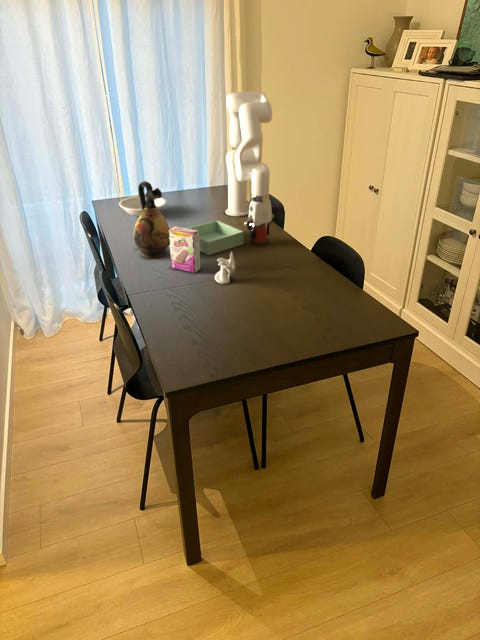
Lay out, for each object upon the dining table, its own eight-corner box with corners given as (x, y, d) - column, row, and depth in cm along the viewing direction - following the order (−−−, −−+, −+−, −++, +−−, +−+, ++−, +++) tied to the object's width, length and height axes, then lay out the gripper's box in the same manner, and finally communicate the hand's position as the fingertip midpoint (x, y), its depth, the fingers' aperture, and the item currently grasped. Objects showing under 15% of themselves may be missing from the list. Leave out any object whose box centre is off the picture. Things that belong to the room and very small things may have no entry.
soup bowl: (177, 212, 255) (176, 200, 252) (146, 226, 238) (144, 212, 234) (142, 204, 266) (141, 192, 263) (110, 217, 249) (108, 204, 246)
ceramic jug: (179, 253, 209) (175, 183, 194) (150, 264, 199) (143, 191, 184) (154, 243, 219) (148, 175, 204) (125, 253, 209) (117, 182, 194)
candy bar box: (170, 268, 196) (167, 229, 187) (177, 264, 200) (174, 225, 191) (195, 273, 192) (193, 234, 183) (201, 269, 196) (199, 229, 187)
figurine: (211, 279, 188) (210, 249, 182) (229, 274, 191) (229, 246, 185) (224, 290, 180) (224, 260, 174) (242, 286, 183) (243, 256, 177)
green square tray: (217, 231, 231) (216, 220, 228) (243, 244, 218) (244, 231, 215) (182, 241, 220) (181, 229, 218) (208, 255, 208) (208, 242, 205)
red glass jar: (259, 238, 224) (260, 217, 219) (269, 243, 219) (270, 221, 214) (248, 242, 220) (248, 220, 215) (258, 246, 216) (258, 225, 211)
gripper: (250, 203, 202) (249, 243, 211) (280, 195, 212) (279, 234, 221) (238, 199, 207) (238, 238, 216) (269, 192, 217) (267, 229, 226)
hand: (259, 236), depth 218 cm, fingers open, 7 cm apart
